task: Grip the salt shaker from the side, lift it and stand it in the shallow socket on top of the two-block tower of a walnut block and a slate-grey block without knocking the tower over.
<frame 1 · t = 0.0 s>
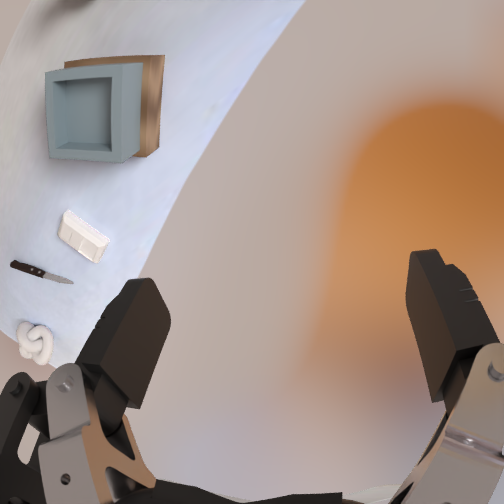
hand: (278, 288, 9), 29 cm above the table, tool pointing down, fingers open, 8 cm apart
tower base: (120, 100, 34), on the table
tower top: (101, 106, 30), point 4 cm above the table
pretzel: (45, 331, 67), on the table
kitchen knife: (43, 269, 54), on the table
soap bar: (86, 232, 47), on the table
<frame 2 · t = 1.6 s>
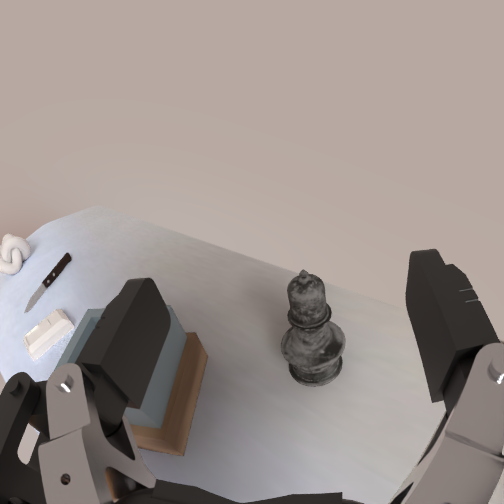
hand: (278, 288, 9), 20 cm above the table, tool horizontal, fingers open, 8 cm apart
tower base: (147, 400, 30), on the table, touching tower top
tower top: (128, 376, 27), point 4 cm above the table, touching tower base
pretzel: (16, 269, 66), on the table
kitchen knife: (50, 286, 55), on the table
soap bar: (52, 339, 41), on the table
salt shaker: (315, 365, 29), on the table
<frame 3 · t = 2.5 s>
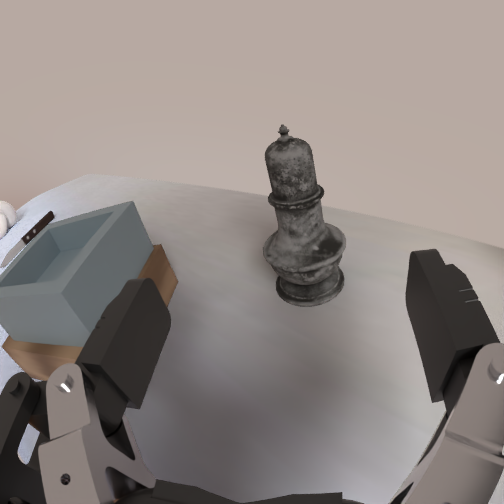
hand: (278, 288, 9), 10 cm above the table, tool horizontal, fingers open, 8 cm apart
tower base: (102, 334, 24), on the table, touching tower top
tower top: (79, 295, 22), point 4 cm above the table, touching tower base
pretzel: (1, 236, 61), on the table
kitchen knife: (30, 243, 50), on the table
salt shaker: (310, 283, 24), on the table
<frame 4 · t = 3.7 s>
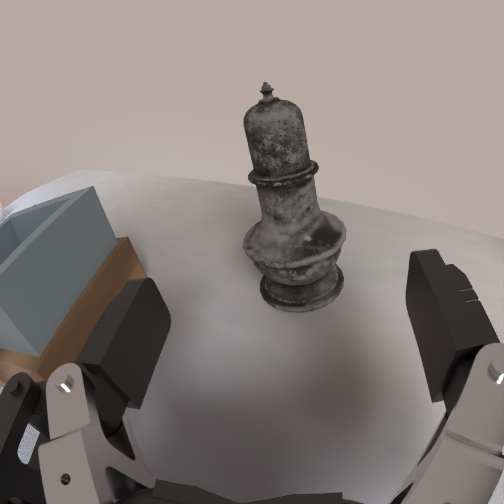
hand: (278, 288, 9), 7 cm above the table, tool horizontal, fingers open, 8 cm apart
tower base: (62, 338, 20), on the table, touching tower top
tower top: (34, 293, 18), point 4 cm above the table, touching tower base
salt shaker: (302, 284, 20), on the table
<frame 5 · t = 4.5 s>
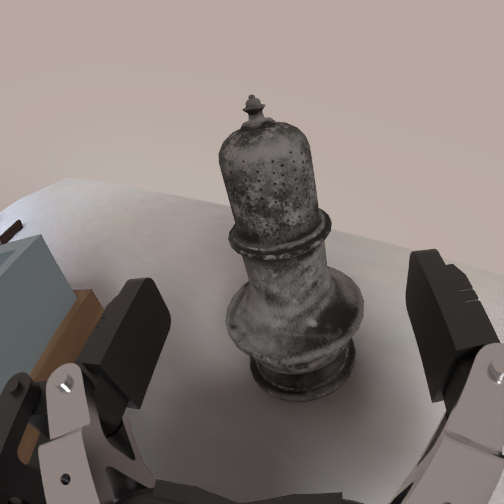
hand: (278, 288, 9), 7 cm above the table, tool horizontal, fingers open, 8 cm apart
tower base: (31, 396, 16), on the table, touching tower top
salt shaker: (302, 358, 15), on the table
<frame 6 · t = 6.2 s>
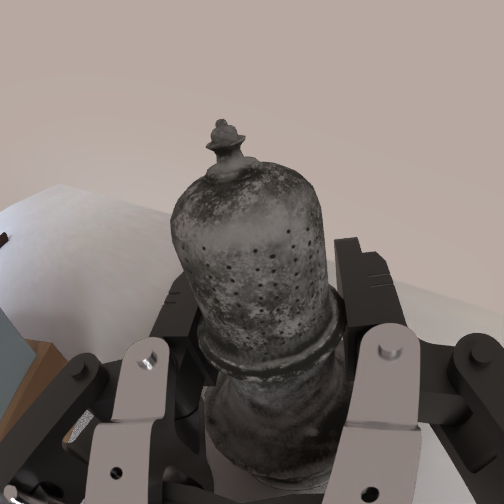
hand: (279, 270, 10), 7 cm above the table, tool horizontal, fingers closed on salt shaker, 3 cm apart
tower base: (5, 444, 12), on the table, touching tower top
salt shaker: (299, 435, 12), on the table, touching gripper
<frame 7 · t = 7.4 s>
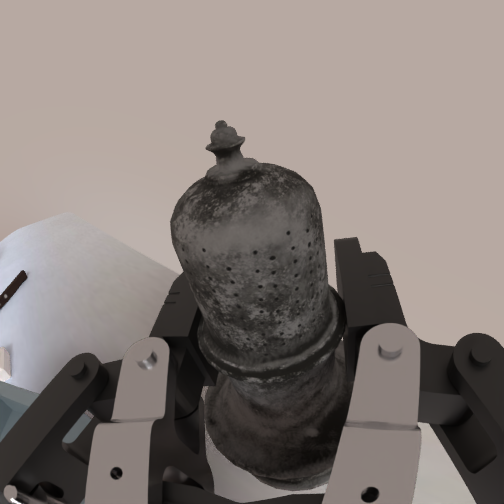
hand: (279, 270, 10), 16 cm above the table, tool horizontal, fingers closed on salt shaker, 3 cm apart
tower top: (40, 475, 14), point 4 cm above the table, touching tower base
kitchen knife: (2, 310, 41), on the table
salt shaker: (299, 436, 12), point 9 cm above the table, touching gripper
when the fingers open (15 cm above the table, at t = 12.1 s): salt shaker drops 2 cm, resting on tower top.
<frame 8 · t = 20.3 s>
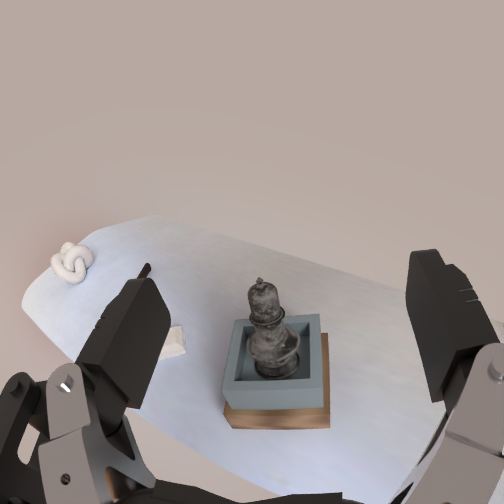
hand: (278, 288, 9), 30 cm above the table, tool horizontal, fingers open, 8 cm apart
tower base: (284, 390, 38), on the table, touching tower top
tower top: (279, 372, 36), point 4 cm above the table, touching salt shaker, tower base
pretzel: (78, 278, 75), on the table
kitchen knife: (135, 296, 63), on the table
soap bar: (161, 351, 49), on the table
salt shaker: (277, 363, 35), point 6 cm above the table, touching tower top
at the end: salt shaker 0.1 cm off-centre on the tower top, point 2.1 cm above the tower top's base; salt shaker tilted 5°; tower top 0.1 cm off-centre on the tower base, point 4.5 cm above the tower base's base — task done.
